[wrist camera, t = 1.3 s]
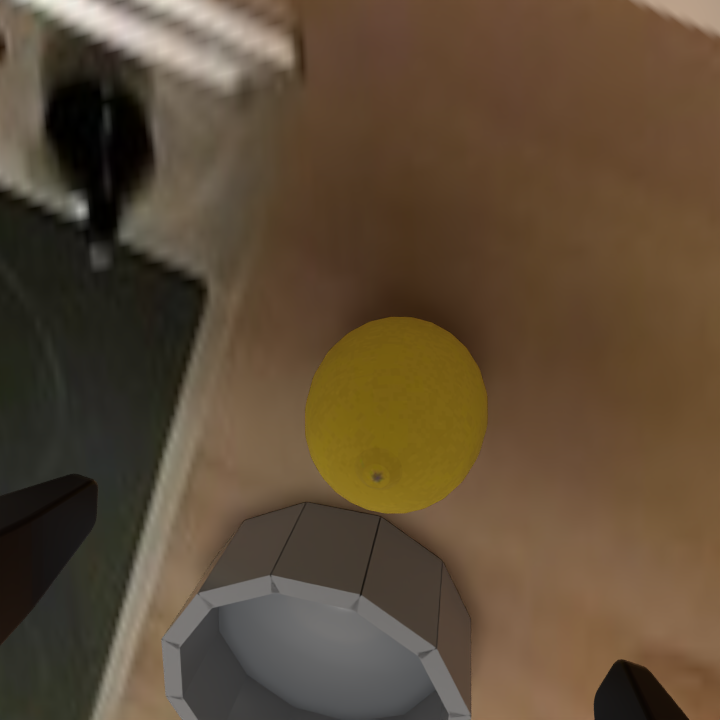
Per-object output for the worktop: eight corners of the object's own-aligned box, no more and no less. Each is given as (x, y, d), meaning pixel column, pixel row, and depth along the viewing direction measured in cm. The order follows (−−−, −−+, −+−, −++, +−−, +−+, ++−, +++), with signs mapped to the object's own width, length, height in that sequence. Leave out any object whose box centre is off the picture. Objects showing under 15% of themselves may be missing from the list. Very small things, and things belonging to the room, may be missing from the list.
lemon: (425, 453, 21) (401, 605, 14) (314, 374, 21) (229, 485, 13) (515, 352, 19) (546, 468, 12) (393, 262, 19) (344, 322, 11)
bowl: (506, 693, 24) (514, 799, 20) (283, 725, 28) (251, 819, 24) (400, 473, 22) (384, 546, 17) (168, 543, 25) (109, 615, 21)
